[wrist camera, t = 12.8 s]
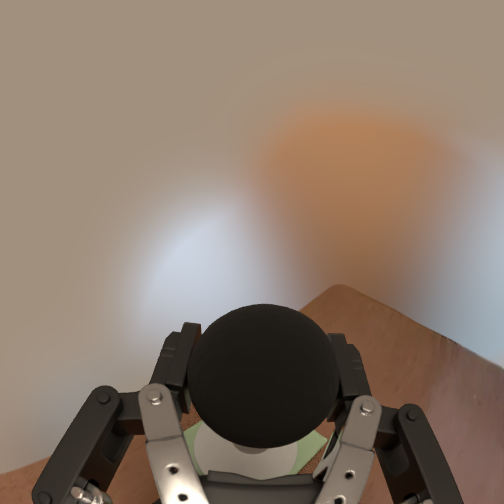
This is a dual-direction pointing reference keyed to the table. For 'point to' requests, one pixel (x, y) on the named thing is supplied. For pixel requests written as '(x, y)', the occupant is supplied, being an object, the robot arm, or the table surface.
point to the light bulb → (263, 377)
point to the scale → (251, 465)
